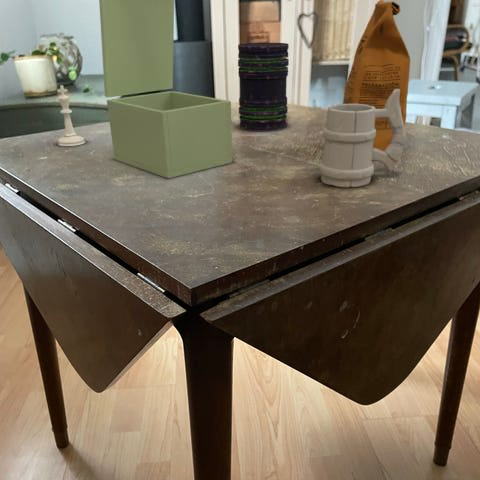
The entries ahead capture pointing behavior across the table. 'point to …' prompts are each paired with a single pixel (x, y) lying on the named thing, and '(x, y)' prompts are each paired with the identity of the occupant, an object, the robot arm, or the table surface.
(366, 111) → the mug
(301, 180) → the table surface
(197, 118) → the box
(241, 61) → the storage jar
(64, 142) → the chess piece
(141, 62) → the lid
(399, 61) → the coffee package
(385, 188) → the table surface
